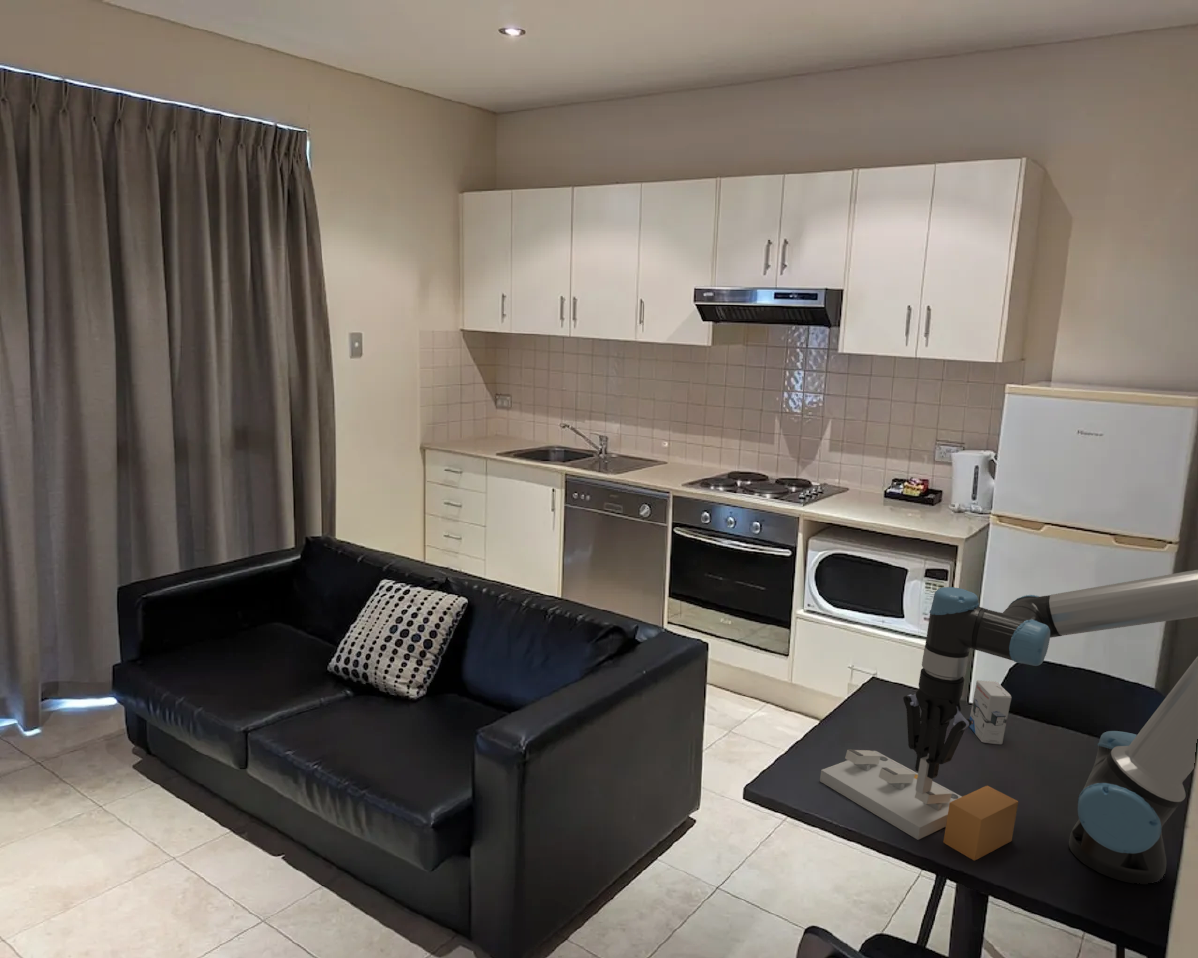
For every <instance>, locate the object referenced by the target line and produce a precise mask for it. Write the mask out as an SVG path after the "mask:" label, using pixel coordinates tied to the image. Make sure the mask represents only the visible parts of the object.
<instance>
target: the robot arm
mask: <svg viewBox="0 0 1198 958" xmlns="http://www.w3.org/2000/svg"><path fill="white" fill-rule="evenodd" d="M931 602H932V603H931V607H930V610H929V619H928V624H927V633H926V641H925V643H924V644H925V645H924V648H923V656H922V661H921V667H922V668H921V669H920V672H919V673H920V674H919V680H918V689H917V690H916V692H915V693H911V694H908V695H905V696H903V698H902V699H903V700H902V701H903V702H904V705H905V708H906V722H907V723H906V725H907V726H906V727H907V741H908V748H909V749H910V750H913V751H914V752H915V753H916V754H915V755H916V760H915V765H914V766H915V767H914V769H915V772H916V773H918V777H917V783H916V789H915V790H916V791H917V792H919V793H921V794H924V793H926V792H929V791H931V787H932V781H933V782H934V779H936V778H937V777H938V776H939V775H938V774H939V769H940V765H944V764H947V763H949V762H951V761H952V760H953V756H955V755H954V754H955V752H956V750H957V748H958V746H959V743H960V741H961V740H962V738H963V735H964V732H965V731H966V730H967V729H968V728H970V727H969V726H970V725H971V720H970V718H965V716H964V715H963V714H962V713H961V711H962V708H961V704H960V703H961V698H962V696H963V691H964V686H965V685H964V684H965V678H964V676H966V673H967V666H968V662H969V661H968V660H969V656H970V655H969V654H970V651H971V650H975V651H977V652H978V651H979V652H982V653H985V654H989V655H992V656H996V657H998V658H1002V659H1006V660H1009V661H1013V662H1014V663H1016V664H1024V665H1028V666H1029V665H1030V666H1035V667H1037V666H1040V665H1041V664H1042V663H1044V660H1045V658H1046V656H1047V653H1048V649H1049V646H1050V639H1052V638H1057V637H1064V636H1070V635H1071V636H1072V635H1076V634H1083V633H1090V632H1097V631H1104V630H1112V629H1113V630H1114V629H1120V628H1126V627H1127V628H1128V627H1134V626H1141V625H1149V624H1156V623H1163V622H1169V621H1178V620H1183V619H1191V618H1198V569H1194V570H1187V571H1181V572H1176V573H1171V574H1169V573H1168V574H1163V575H1159V576H1153V577H1147V578H1140V579H1134V580H1129V581H1124V582H1118V583H1112V584H1106V585H1100V586H1095V587H1088V588H1083V589H1076V590H1071V591H1065V592H1059V593H1053V594H1049V595H1048V594H1047V595H1041V596H1039V595H1035V594H1028V595H1027V594H1026V595H1023V596H1021V597H1018V598H1016V599H1015V600H1013V601H1011V602H1010V604H1009V605H1008V606H1007V608H1006V609H1005V610H1003V612H999V611H996V610H991V609H988V608H984V607H982V606H980V603H979V597H978V595H977V594H976V593H974V592H973V591H968V590H967V589H964V588H960V587H953V586H945V587H940V588H938V589H937V590H935V592H934V594H933V598H932V601H931ZM970 649H971V650H970ZM953 719H954V720H953ZM951 720H953V723H952V725H953V726H952V727H951V729H950V731H949V733H948V736H947V731H948V730H947V729H948V727H949V726H950V721H951ZM946 736H947V738H946ZM1197 739H1198V655H1197V656H1196V658H1195V659H1193V661H1192V663H1191V664H1190V665H1189V667H1188V668H1187V669H1186V671H1185V672H1184V673H1183V675H1181V677H1180V678H1179V680H1178V681H1177V682H1176V684H1175V685H1174V687H1172V689H1171V690H1170V691H1169V692H1168V694H1167V695H1166V696H1165V698H1164V699H1163V701H1161V703H1160V705H1159V706H1158V707H1157V709H1156V710H1155V711H1154V712H1153V714H1152V715H1151V716H1150V718H1149V719H1148V721H1147V722H1146V723H1145V724H1144V726H1143V727H1142V728H1141V729H1140V731H1139V732H1138V734H1135V733H1130V732H1127V731H1120V730H1119V731H1118V730H1108V731H1106V732H1103V733H1102V734H1101V735H1100V738H1099V742H1098V743H1097V746H1098V747H1097V753H1096V757H1095V761H1094V764H1093V766H1092V769H1091V770H1090V771H1091V772H1090V774H1089V776H1088V778H1087V779H1086V782H1085V785H1084V787H1083V788H1082V790H1081V792H1080V793H1079V795H1078V799H1077V815H1078V819H1077V822H1076V823H1075V825H1074V826H1073V828H1072V829H1071V831H1070V834H1069V835H1070V836H1069V840H1068V848H1069V849H1070V851H1071V853H1072V854H1073V855H1074V856H1075V857H1076V858H1077V859H1078V861H1079V862H1081V864H1084V865H1085V866H1087V867H1088V868H1090V869H1091V870H1093V871H1095V872H1097V873H1099V874H1100V875H1101V874H1102V875H1103V876H1106V877H1109V878H1111V879H1114V880H1117V881H1121V882H1124V883H1129V884H1134V883H1137V884H1136V885H1149V884H1148V883H1152V882H1155V881H1157V880H1158V879H1160V878H1161V877H1163V875H1164V874H1166V869H1167V856H1166V851H1165V844H1164V839H1163V835H1162V834H1163V833H1162V829H1163V826H1164V825H1165V823H1166V822H1167V820H1168V819H1169V818H1170V817H1171V816H1172V814H1173V813H1175V811H1176V810H1177V809H1178V807H1179V806H1180V805H1181V804H1182V802H1184V800H1185V798H1186V791H1185V787H1184V785H1183V782H1184V781H1185V780H1186V779H1187V777H1188V776H1189V775H1190V773H1192V771H1193V770H1194V769H1195V768H1194V763H1195V752H1196V743H1197ZM1164 876H1165V875H1164ZM1139 883H1140V884H1139Z"/></svg>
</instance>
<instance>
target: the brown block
mask: <svg viewBox="0 0 1198 958" xmlns="http://www.w3.org/2000/svg"><path fill="white" fill-rule="evenodd" d="M1018 805H1019V800H1017V799H1014V798H1013V797H1011V796H1009V795H1007V794H1005V793H1003V792H1001V791H999V790H997V789H995V788H993V787H991V786H989V785H985V786H983V787H981V788H978V789H976V790H974V791H972V792H969V793H968V794H965V795H962V797H961V798H958V799H956V800H954V801H952V802H950V803H949V810H948V816H947V822H946V827H945V829H944V836H943V842H942V843H943V844H945V845H946V846H948V847H950V848H952V849H953V850H955V851H956V852H959V853H961V854H962V855H964V856H966V857H967V858H969V859H970V860H972V861H976V860H978V859H981V858H982V857H984V856H986V855H989V853H992V852H994V851H995V850H997V849H999V848H1001V847H1004V846H1005V845H1007V844H1008V843H1011V842H1012V841H1013V834H1014V829H1015V824H1016V818H1017V812H1018V807H1019V806H1018Z"/></svg>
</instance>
